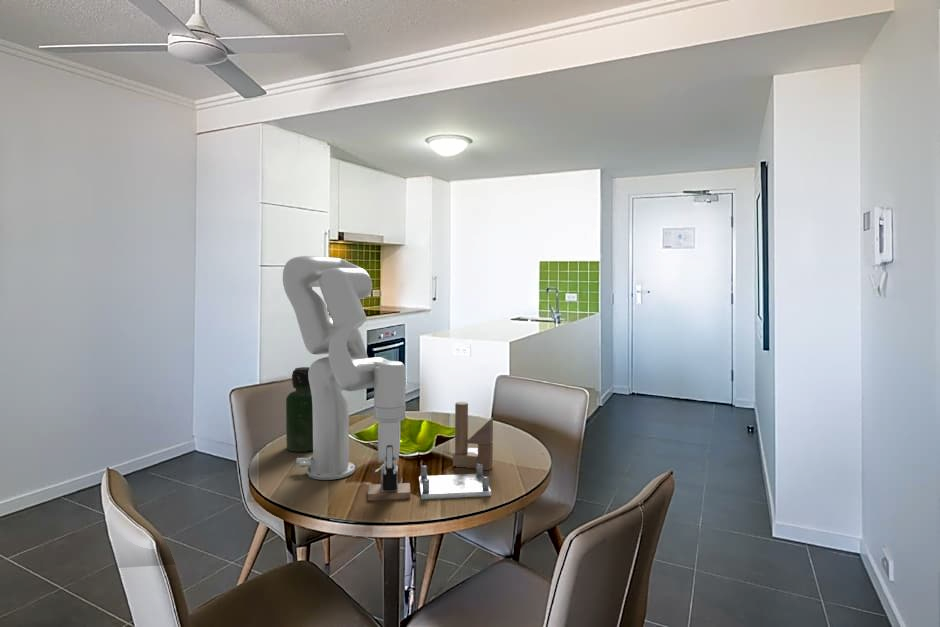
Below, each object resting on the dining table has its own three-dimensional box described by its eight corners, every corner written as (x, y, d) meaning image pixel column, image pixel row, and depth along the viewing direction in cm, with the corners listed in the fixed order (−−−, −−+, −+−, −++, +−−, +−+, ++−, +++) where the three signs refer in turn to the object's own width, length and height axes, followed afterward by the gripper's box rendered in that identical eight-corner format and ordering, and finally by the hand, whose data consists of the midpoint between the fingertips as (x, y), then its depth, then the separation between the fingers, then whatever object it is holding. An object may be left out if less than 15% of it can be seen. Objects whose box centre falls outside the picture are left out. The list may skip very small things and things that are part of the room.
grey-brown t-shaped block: (368, 500, 126) (368, 473, 125) (369, 490, 132) (369, 465, 131) (410, 498, 127) (410, 471, 127) (409, 488, 133) (409, 463, 133)
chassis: (421, 499, 126) (421, 482, 126) (419, 480, 138) (419, 464, 138) (491, 495, 129) (491, 479, 129) (483, 477, 141) (483, 462, 140)
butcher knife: (460, 467, 150) (460, 463, 150) (463, 450, 165) (463, 447, 165) (477, 467, 150) (477, 463, 150) (479, 451, 165) (479, 447, 165)
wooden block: (489, 470, 146) (490, 406, 145) (452, 467, 149) (453, 404, 148) (492, 466, 150) (493, 403, 149) (456, 462, 153) (456, 401, 152)
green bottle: (321, 441, 172) (321, 365, 170) (321, 451, 162) (320, 370, 160) (288, 444, 169) (287, 366, 168) (285, 454, 159) (284, 371, 158)
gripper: (375, 404, 136) (375, 474, 137) (372, 421, 119) (372, 500, 120) (404, 404, 137) (405, 473, 138) (406, 420, 120) (406, 499, 121)
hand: (390, 485), depth 129 cm, fingers closed on grey-brown t-shaped block, 4 cm apart
